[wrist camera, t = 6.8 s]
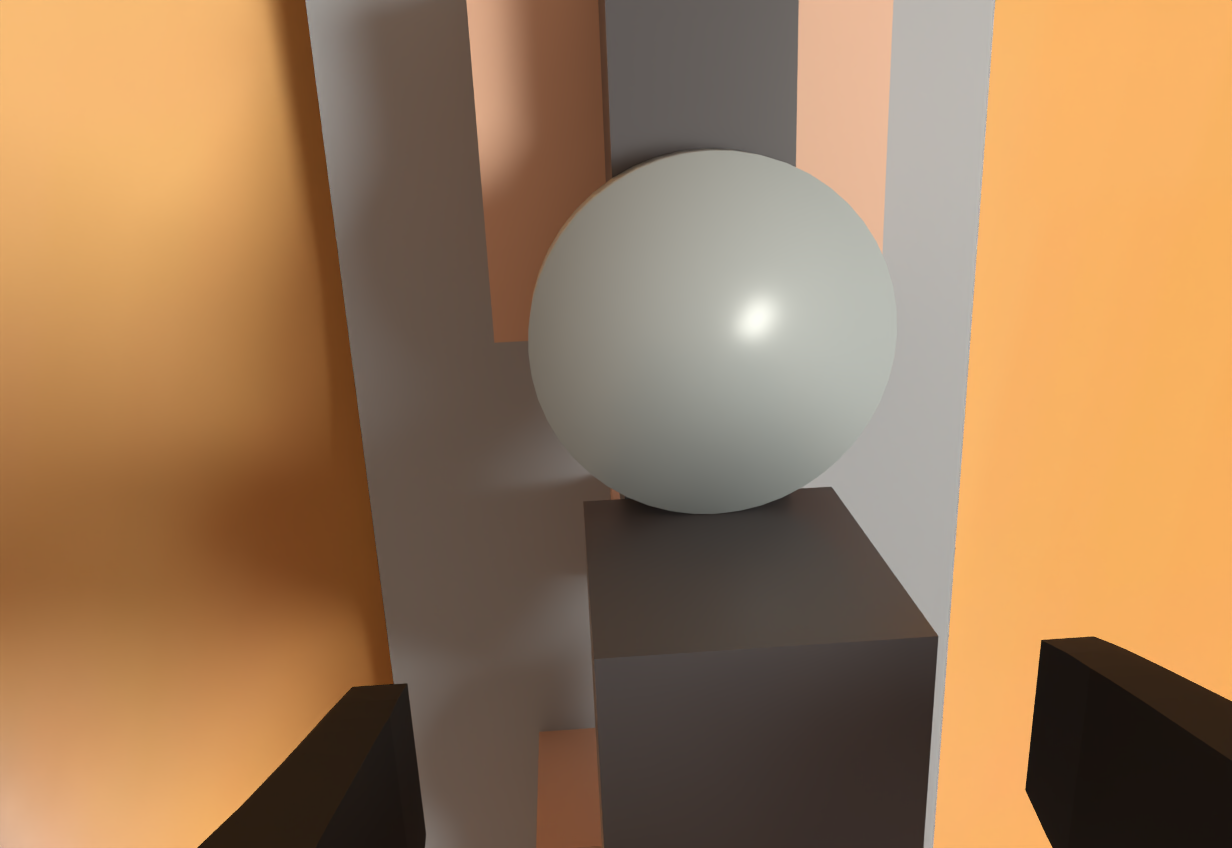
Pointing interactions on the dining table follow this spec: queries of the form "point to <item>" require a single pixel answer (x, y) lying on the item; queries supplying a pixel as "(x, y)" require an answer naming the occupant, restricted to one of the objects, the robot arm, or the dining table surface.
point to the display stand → (500, 368)
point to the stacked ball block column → (729, 455)
